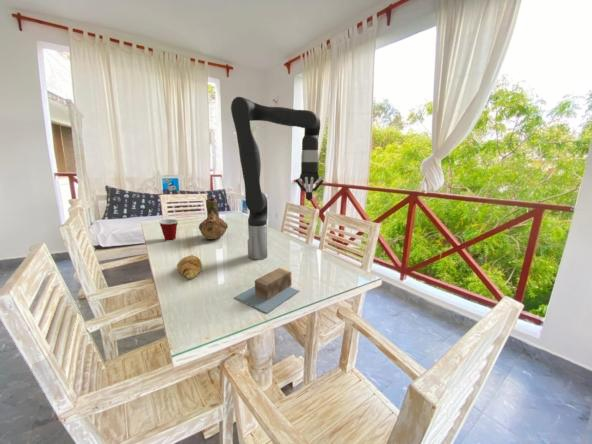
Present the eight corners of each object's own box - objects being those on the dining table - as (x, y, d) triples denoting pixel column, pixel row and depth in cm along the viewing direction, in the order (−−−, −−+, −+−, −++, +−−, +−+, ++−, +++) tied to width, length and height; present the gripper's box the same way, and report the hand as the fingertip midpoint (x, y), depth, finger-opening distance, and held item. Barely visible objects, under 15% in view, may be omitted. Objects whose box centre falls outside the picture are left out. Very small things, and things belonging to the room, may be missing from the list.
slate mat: (266, 313, 83) (266, 312, 83) (234, 298, 93) (234, 297, 93) (299, 291, 97) (299, 290, 97) (268, 279, 107) (268, 278, 107)
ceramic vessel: (198, 246, 145) (194, 203, 139) (201, 234, 170) (197, 196, 163) (229, 244, 150) (226, 202, 144) (227, 232, 174) (225, 195, 168)
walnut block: (291, 285, 101) (267, 300, 91) (279, 281, 105) (255, 295, 94) (291, 271, 100) (266, 285, 89) (279, 267, 103) (254, 280, 93)
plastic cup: (175, 242, 153) (173, 222, 150) (157, 242, 153) (154, 222, 150) (183, 236, 163) (181, 218, 160) (166, 236, 163) (164, 218, 160)
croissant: (199, 287, 107) (207, 270, 107) (174, 280, 103) (182, 263, 102) (196, 266, 126) (202, 252, 126) (175, 260, 121) (182, 245, 121)
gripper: (293, 161, 109) (293, 201, 113) (325, 161, 107) (323, 202, 111) (295, 160, 116) (295, 198, 120) (325, 161, 114) (323, 199, 119)
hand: (309, 200), depth 116 cm, fingers closed
